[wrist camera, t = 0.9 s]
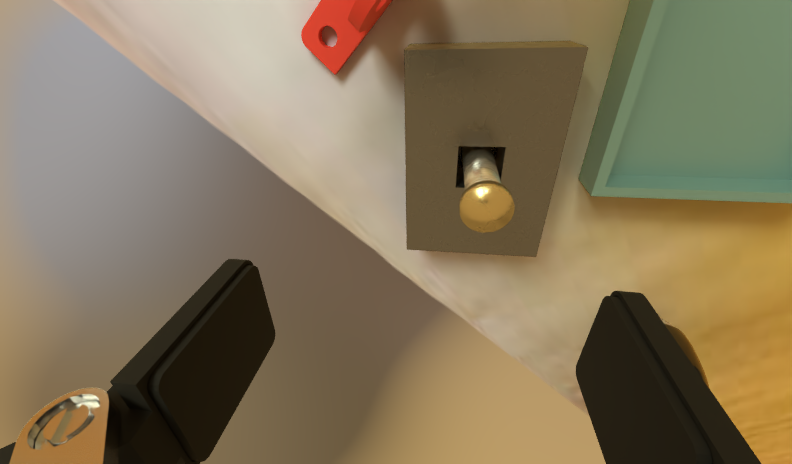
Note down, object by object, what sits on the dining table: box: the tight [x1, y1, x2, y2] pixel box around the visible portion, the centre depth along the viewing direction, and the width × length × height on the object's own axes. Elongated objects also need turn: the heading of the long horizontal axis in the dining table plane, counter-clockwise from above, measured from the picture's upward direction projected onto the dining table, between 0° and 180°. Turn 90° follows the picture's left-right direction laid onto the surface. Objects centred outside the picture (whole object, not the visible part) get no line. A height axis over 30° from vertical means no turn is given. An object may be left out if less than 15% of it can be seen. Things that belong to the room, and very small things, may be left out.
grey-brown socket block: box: [404, 41, 588, 257], centre depth 34 cm, size 20×14×5 cm
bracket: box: [301, 0, 392, 74], centre depth 27 cm, size 12×4×8 cm, turn 137°
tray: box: [579, 0, 792, 203], centre depth 27 cm, size 26×20×4 cm
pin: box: [459, 146, 515, 233], centre depth 31 cm, size 4×4×13 cm
